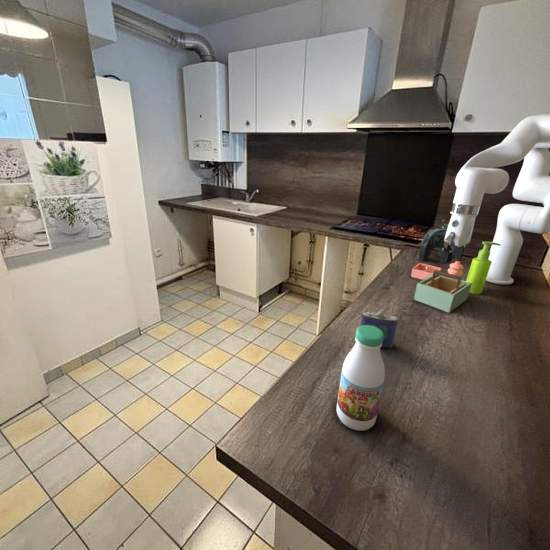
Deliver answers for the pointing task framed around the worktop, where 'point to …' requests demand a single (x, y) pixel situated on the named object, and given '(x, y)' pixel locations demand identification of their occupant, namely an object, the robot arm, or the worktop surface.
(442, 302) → the green basket
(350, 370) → the milk bottle
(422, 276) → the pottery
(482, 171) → the robot arm
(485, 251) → the soap dispenser
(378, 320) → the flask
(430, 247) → the dark green animal figurine
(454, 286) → the wooden basket
